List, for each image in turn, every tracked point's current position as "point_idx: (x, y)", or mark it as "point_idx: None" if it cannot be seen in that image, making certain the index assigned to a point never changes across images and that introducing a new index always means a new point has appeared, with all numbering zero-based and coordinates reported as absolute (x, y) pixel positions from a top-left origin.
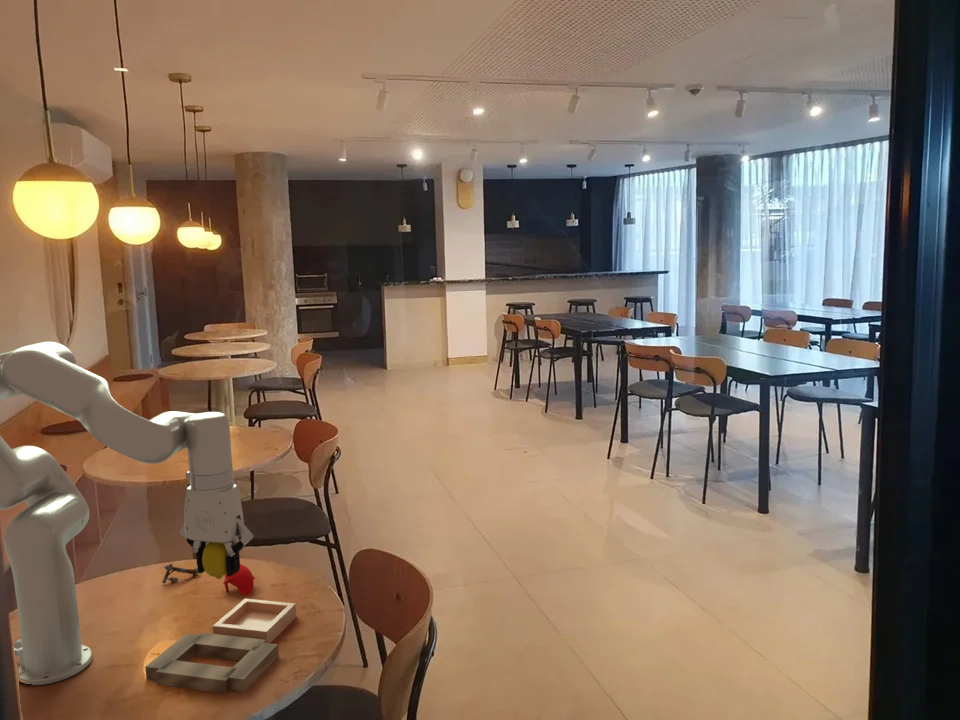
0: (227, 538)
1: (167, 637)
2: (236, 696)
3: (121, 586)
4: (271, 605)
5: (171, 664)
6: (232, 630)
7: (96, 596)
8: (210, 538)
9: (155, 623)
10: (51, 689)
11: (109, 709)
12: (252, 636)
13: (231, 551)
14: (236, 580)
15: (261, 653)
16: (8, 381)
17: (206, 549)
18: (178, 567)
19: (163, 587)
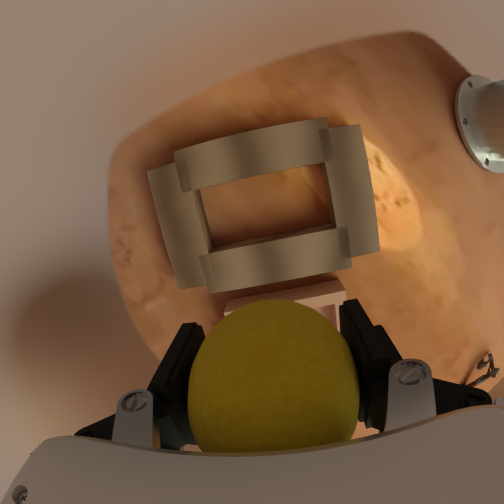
0: (38, 452)
1: (418, 251)
2: (161, 157)
3: None
4: None
5: (318, 147)
6: (300, 297)
7: None
8: (184, 483)
9: (457, 276)
10: (448, 74)
11: (330, 48)
12: (256, 301)
13: (131, 412)
14: None
15: (180, 252)
16: None
17: (300, 398)
18: (484, 380)
19: (486, 348)
